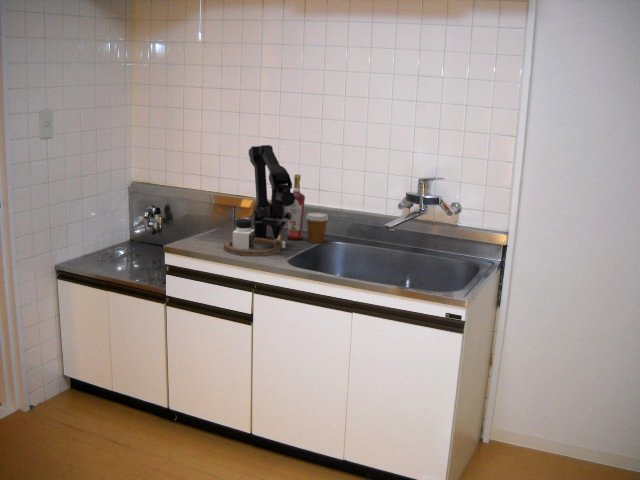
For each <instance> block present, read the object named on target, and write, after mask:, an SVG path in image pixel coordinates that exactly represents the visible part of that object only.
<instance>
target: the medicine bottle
mask: <svg viewBox="0 0 640 480" xmlns="http://www.w3.org/2000/svg"><path fill="white" fill-rule="evenodd" d="M232 239H233V245H231V247H233V248H235V249H240V250H249V251H251V249H252V248H253V247H255V243H254V228H252V224H251V220H250V218H247V217H239V218H237V219H236V226H235V230H234V231H232Z"/></svg>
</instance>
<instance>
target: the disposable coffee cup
mask: <svg viewBox="0 0 640 480" xmlns="http://www.w3.org/2000/svg"><path fill="white" fill-rule="evenodd" d="M305 219H306V223H307V224H306V225H307V235H308V242H309V243H310V244H316V245H317V244H323V243H324V239H325V234H326V228H327V223H328V221H329V220H328V219H329V217H328V214H327V213H323V212H315V211H314V212H308V213H306V216H305Z"/></svg>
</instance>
